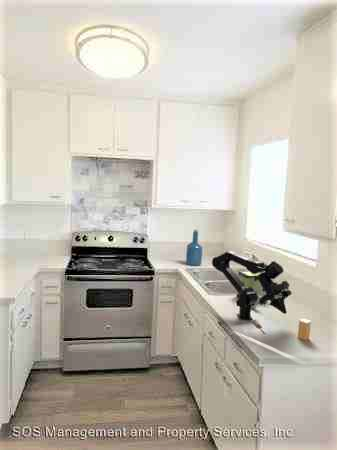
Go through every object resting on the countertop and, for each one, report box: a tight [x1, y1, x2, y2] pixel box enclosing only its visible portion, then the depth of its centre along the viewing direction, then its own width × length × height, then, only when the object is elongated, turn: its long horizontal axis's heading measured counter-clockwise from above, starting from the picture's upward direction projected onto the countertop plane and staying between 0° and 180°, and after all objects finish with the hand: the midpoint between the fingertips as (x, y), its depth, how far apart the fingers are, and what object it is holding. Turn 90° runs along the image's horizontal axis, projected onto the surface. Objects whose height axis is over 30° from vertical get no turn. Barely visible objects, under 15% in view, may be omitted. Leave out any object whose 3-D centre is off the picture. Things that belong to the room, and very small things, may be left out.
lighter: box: [251, 295, 262, 310], centre depth 201 cm, size 7×2×8 cm, turn 55°
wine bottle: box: [185, 229, 203, 267], centre depth 308 cm, size 14×13×30 cm
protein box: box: [236, 271, 266, 298], centre depth 220 cm, size 10×16×16 cm
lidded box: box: [297, 318, 312, 341], centre depth 160 cm, size 4×4×8 cm
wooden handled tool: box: [251, 319, 266, 335], centre depth 170 cm, size 14×2×2 cm, turn 5°
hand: (285, 313), depth 167 cm, fingers closed
